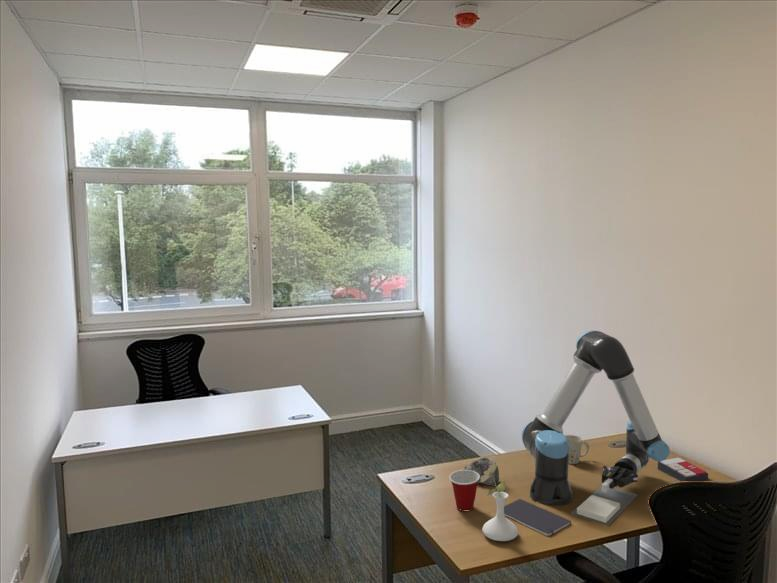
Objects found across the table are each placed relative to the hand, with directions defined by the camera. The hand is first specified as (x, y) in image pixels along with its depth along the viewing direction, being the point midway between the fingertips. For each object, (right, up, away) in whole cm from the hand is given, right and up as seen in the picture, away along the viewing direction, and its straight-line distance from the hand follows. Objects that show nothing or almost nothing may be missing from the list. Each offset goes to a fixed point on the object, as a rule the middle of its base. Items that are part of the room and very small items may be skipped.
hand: (603, 488), depth 205 cm
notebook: (-26, -9, -5) cm, 28 cm away
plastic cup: (-49, -8, +3) cm, 49 cm away
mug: (+4, -3, +43) cm, 43 cm away
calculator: (+42, -4, +29) cm, 51 cm away
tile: (+2, -5, +2) cm, 6 cm away
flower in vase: (-40, -10, -16) cm, 44 cm away
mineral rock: (-39, -6, +24) cm, 46 cm away
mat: (+2, -7, +3) cm, 8 cm away
